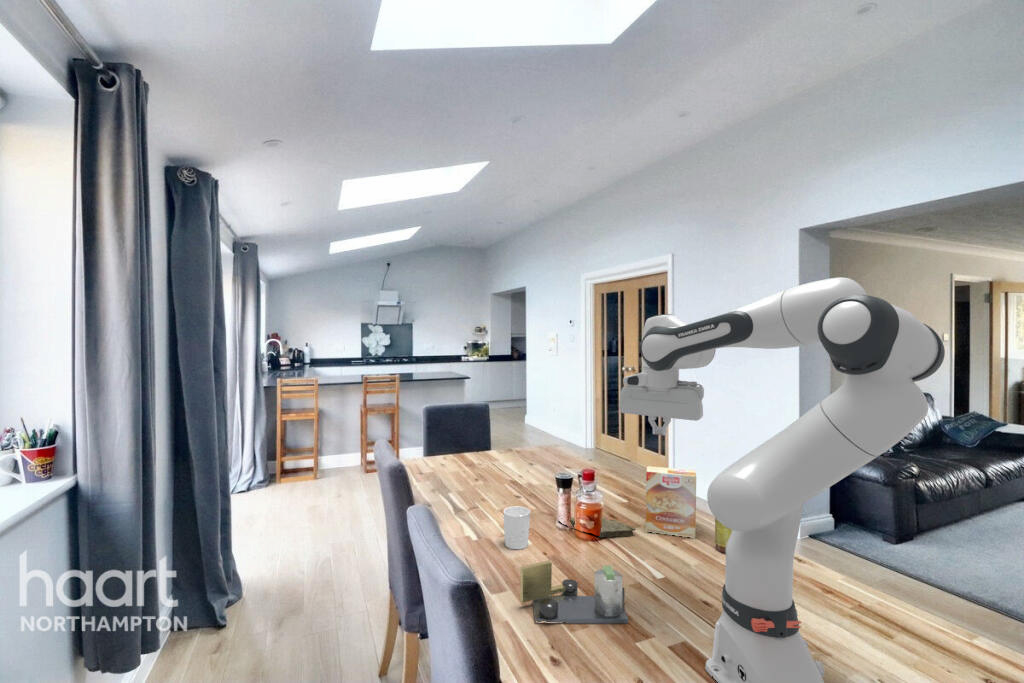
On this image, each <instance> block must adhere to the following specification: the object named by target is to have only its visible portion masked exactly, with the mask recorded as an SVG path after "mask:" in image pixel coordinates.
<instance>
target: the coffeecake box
mask: <svg viewBox="0 0 1024 683" xmlns="http://www.w3.org/2000/svg"><path fill="white" fill-rule="evenodd" d="M696 504H697V475H696V470H694V469H683V468H673V467H664V466H663V467H662V466H652V465H647V466H646V471H645V527H644V528H645V529H644V530H645V533H647V532H652V533H651V534H656V533H660V534H659V535H664V534H667V535H666V536H672V535H675V536H674V537H679V536H682V537H681V538H687V537H690V538H689V539H695V538H696V521H697V520H696V519H697V518H696V516H697V514H696V513H697V508H696V507H697V505H696Z"/></svg>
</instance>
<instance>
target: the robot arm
mask: <svg viewBox="0 0 1024 683" xmlns="http://www.w3.org/2000/svg"><path fill="white" fill-rule="evenodd" d="M818 342H819V343H821V345H822V346H823V349H825V351H826V353H827V354H828V356H829V359H830V361H831V363H832V366H833V368H835V371H837V372H839V373H842V374H845V379H844V381H843V383H842V384H841V385H840V386H839V387H838V388H837V389H836V390H834V391H833V392H832V393H830V394H829V395H828V396H826V397H825V398H824V399H822V400H821V401H820V402H818V403H817V404H816V405H814V406H813V407H811V408H810V409H809V410H808V411H806V412H805V413H804V414H803V415H801V416H800V417H799V418H797V419H796V420H794V421H793V422H792V423H791V424H790V425H788V426H787V427H786V428H784V429H783V430H781V431H779V432H778V433H776V434H775V435H773V436H772V437H769V438H768V439H767V440H765V441H763V443H761V444H760V445H758V446H756V447H754V448H753V449H752V450H751V451H749V452H748V453H746V454H744V455H743V456H742V457H740V458H739V459H738V460H736V461H735V462H733V463H732V464H730V465H729V466H727V467H726V468H725V469H724V470H723V469H722V471H721V472H720V473H718V475H717V476H716V477H715V478H714V479H713V480H712V481H711V483H709V487H708V489H707V495H706V497H707V499H706V500H707V504H708V507H709V509H710V512H711V514H712V515H713V516H714V519H715V518H716V519H717V520H718V521H719V522H720V523H721V524H723V525H724V526H726V527H727V528H729V529H732V532H731V535H730V537H729V539H728V542H727V545H726V553H725V565H724V567H725V574H724V575H725V576H724V578H725V579H724V584H723V585H722V592H721V606H722V609H723V610H722V613H721V614H720V615H719V616H720V617H719V618H718V619H717V621H716V623H715V626H714V636H713V643H712V655H711V656H712V657H710V658H709V659H707V660H706V662H705V667H704V669H705V671H706V672H707V673H708V674H709V675H710V676H711V677H712V676H713V678H714V679H715V680H716V681H717V682H718V683H825V682H824V679H823V677H825V672H826V671H825V667H824V664H823V662H822V661H820V660H814V659H813V657H812V655H811V652H810V650H809V644H808V641H807V640H805V639H804V638H803V636H802V635H801V632H800V630H799V629H801V628H802V626H800V624H802V621H800V620H799V619H798V618H799V617H798V616H799V615H798V611H797V609H796V604H795V601H794V599H793V596H794V595H793V587H794V586H793V584H794V559H795V554H796V552H795V551H796V546H797V542H798V535H799V531H800V527H801V520H802V515H803V514H802V513H803V506H804V504H805V503H807V502H808V501H809V500H812V499H813V498H815V497H817V496H818V495H819V494H821V493H822V492H824V491H826V490H827V489H829V488H831V487H832V486H833V485H836V484H837V483H838V482H840V481H841V480H843V479H844V478H846V477H848V476H850V475H851V474H852V473H854V472H856V471H857V470H859V469H861V468H862V467H864V466H866V465H867V464H868V463H870V462H872V461H873V460H874V459H877V458H878V457H880V456H881V455H882V454H884V453H886V452H887V451H888V450H889V449H891V448H892V447H894V446H895V445H897V444H898V443H899V442H901V440H903V439H904V438H905V437H906V436H908V434H910V433H911V432H912V431H913V430H914V429H916V428H917V426H919V424H920V423H921V422H922V421H923V420H924V419H925V418H926V416H927V414H928V412H929V402H928V400H927V397H926V396H925V394H924V392H923V390H922V389H921V388H920V386H918V385H917V384H916V383H915V382H918V381H919V382H920V381H922V380H924V379H928V378H929V377H931V376H932V375H933V374H935V373H936V372H937V371H938V370H939V368H941V367H942V365H943V362H944V359H945V355H946V354H945V352H946V350H945V346H944V342H943V340H942V338H941V336H939V334H938V333H937V332H936V331H935V330H934V329H933V328H932V327H931V326H929V325H927V324H926V323H924V322H922V321H921V320H919V319H918V318H917V317H916V316H915V315H914V314H912V312H909V311H908V310H906V309H904V308H902V307H900V306H897V305H894V304H893V303H890V302H888V301H887V300H886V299H883V298H881V297H877V296H873V295H868V293H867V292H866V290H865V288H863V286H862V285H860V283H858V282H857V281H855V280H854V279H851V278H848V277H843V276H842V277H832V278H826V279H821V280H815V281H810V282H807V283H803V284H800V285H796V286H794V287H790V288H787V289H784V290H782V291H779V292H776V293H774V294H771V295H768V296H766V297H764V298H761V299H759V300H756V301H754V302H751V303H749V304H746V305H744V306H740V307H739V308H736V309H734V310H731V311H728V312H725V313H723V314H720V315H717V316H712V317H709V318H707V319H703V320H698V321H695V322H692V323H689V324H688V323H686V322H684V321H683V320H681V319H680V318H679V317H678V316H677V315H675V314H672V313H671V314H670V313H664V314H656V315H653V316H650V317H648V318H647V319H646V321H645V323H644V326H643V333H642V339H641V344H640V354H641V357H642V359H643V362H642V367H641V372H636V373H634V374H631V375H627V376H625V377H623V380H622V382H623V385H624V386H623V387H622V388H621V390H620V394H619V400H618V401H619V405H618V408H619V410H620V412H621V414H626V415H627V414H629V415H638V416H645V417H646V416H648V418H647V419H648V420H647V421H648V423H649V425H650V426H651V427H652V434H653V435H658V436H666V435H667V428H668V427H669V425H670V423H671V422H672V419H675V420H676V419H677V420H684V421H685V420H686V421H687V420H688V421H696V422H697V421H700V420H701V419H702V418H703V416H704V407H703V406H704V404H703V398H704V394H705V389H704V386H702V385H701V384H700V383H698V382H697V381H686V380H680V379H679V378H680V370H687V369H690V370H692V369H700V368H704V367H707V366H708V365H709V364H710V363H711V362H712V361H713V360H714V358H715V356H716V350H717V349H722V348H747V349H748V348H749V349H767V350H771V349H773V350H774V349H775V350H777V349H778V350H779V349H789V348H797V347H802V346H807V345H811V344H815V343H818ZM657 418H662V422H664V424H663V425H662V426H658V425H657V423H656V421H657ZM655 420H656V421H655ZM713 678H712V679H713ZM714 679H713V680H714ZM715 680H714V681H715ZM716 681H715V682H716ZM717 682H716V683H717Z"/></svg>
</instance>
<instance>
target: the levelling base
mask: <svg viewBox="0 0 1024 683" xmlns="http://www.w3.org/2000/svg"><path fill="white" fill-rule="evenodd" d="M625 592H626V591H625V587H624V586H623V574H622V573H621V572H620V571H618V570H616V569H613V567H612V566H611V565H608V564H607V565H602V568H600V569H598V570H596V571H595V572H594V595H577V596H564V595H550V596H546V597H543V598H539V599H535V600H532V606H534V607H533V613H534V614H533V615H535V616H534V622H535V621H537V622H541V621H546V622H568V623H567V624H629V617H628V615H627V612H626V610H625V608H624V605H623V604H624V603H625V596H626V594H625Z"/></svg>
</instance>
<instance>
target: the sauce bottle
mask: <svg viewBox="0 0 1024 683" xmlns="http://www.w3.org/2000/svg"><path fill="white" fill-rule="evenodd" d="M714 521H715V522H714V526H715V527H714V534H715V536H714V538H715V539H714V540H715V541H714V543H715V548H716V550H717V551H718V552H721V553H723V554H726V545H727V542H728V539H729V537H730V535H731V532H732V529H729V528H727V527H726V526H724V525H723V524H721V523H720V522H719V521H718V520H717V519H716V518H715V517H714Z"/></svg>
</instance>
